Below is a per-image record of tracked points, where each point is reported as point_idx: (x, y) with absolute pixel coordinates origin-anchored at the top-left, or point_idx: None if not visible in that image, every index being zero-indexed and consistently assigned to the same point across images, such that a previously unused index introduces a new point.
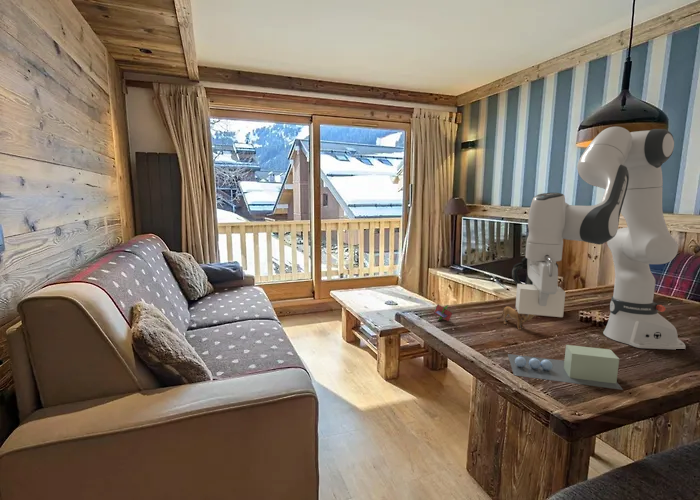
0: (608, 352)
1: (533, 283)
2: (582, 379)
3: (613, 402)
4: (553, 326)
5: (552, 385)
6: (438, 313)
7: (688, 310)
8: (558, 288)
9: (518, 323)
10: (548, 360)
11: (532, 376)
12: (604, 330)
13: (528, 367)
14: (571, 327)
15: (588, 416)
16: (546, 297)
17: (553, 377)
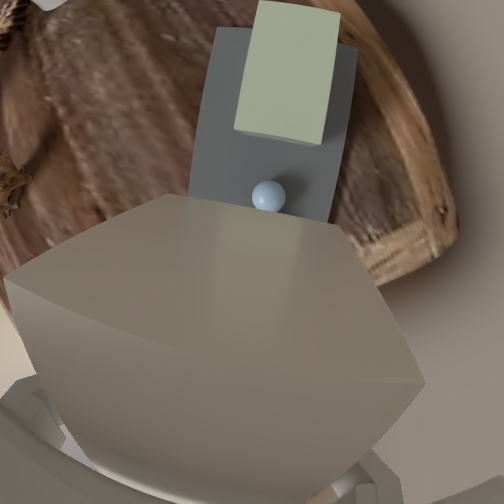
0: (288, 15)
1: (57, 444)
2: None
3: (401, 100)
4: (16, 99)
5: (338, 204)
6: None
7: None
8: (127, 379)
9: (20, 184)
10: (269, 195)
11: None
12: (45, 7)
13: None
14: (21, 64)
15: (450, 193)
16: (373, 462)
17: (315, 193)
